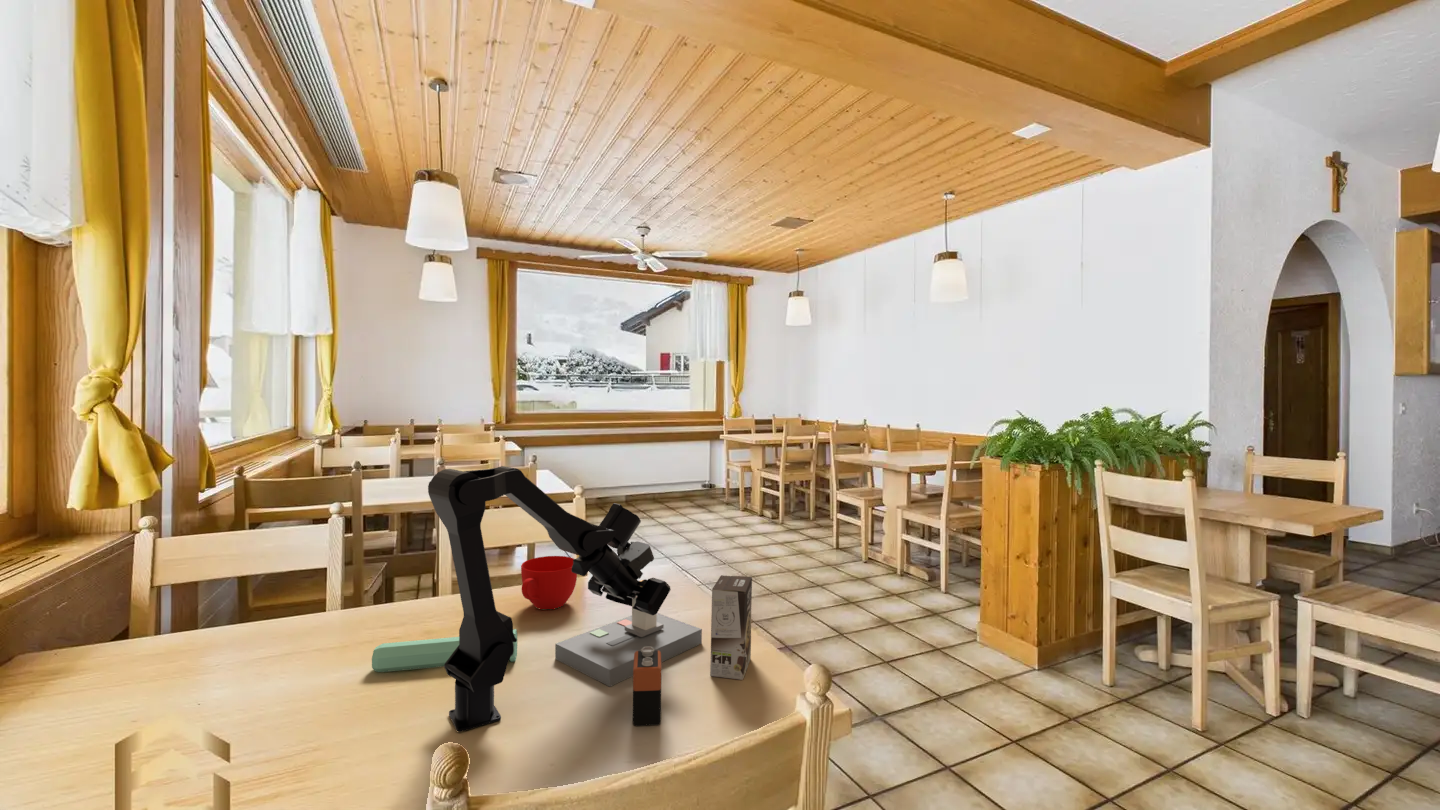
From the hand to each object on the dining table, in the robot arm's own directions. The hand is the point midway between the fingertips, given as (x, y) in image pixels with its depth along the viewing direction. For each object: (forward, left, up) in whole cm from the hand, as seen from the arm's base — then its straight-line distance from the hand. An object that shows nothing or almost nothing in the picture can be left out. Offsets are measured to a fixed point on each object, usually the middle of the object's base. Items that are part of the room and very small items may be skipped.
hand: (649, 609), depth 125 cm
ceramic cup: (+30, +11, -7) cm, 33 cm away
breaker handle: (0, +1, -4) cm, 4 cm away
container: (+13, +36, -8) cm, 39 cm away
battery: (-24, +13, -7) cm, 28 cm away
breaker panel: (-1, +5, -7) cm, 9 cm away
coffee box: (-18, -8, -7) cm, 21 cm away
